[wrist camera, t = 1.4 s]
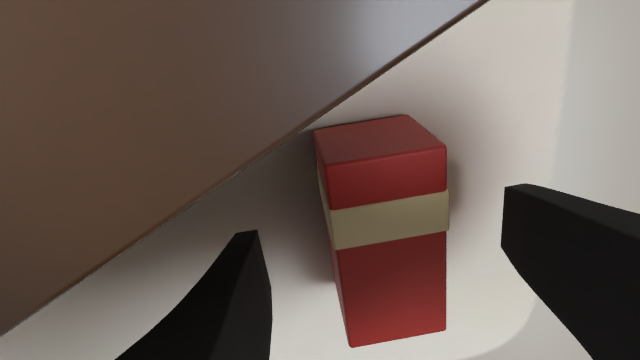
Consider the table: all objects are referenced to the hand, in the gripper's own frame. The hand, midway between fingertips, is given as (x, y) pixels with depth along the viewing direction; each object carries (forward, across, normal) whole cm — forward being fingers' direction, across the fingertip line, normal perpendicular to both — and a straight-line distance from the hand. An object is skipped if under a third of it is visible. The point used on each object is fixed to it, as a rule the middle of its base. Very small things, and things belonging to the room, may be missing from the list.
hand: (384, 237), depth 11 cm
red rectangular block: (+2, 0, 0) cm, 2 cm away
